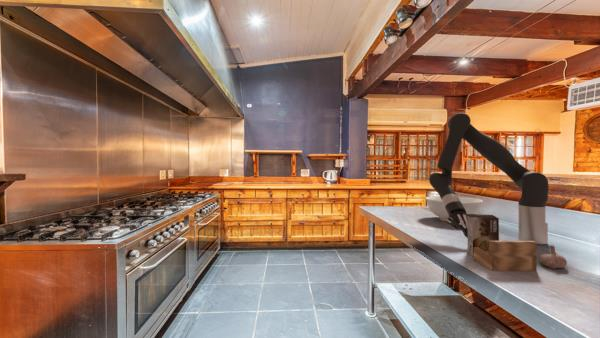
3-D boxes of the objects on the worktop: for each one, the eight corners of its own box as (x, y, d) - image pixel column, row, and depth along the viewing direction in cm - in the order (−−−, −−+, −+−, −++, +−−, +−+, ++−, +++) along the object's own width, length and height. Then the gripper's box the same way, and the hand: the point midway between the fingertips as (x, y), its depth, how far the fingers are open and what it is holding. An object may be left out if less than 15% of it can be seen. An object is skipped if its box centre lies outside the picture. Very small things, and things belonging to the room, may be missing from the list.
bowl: (419, 221, 157) (419, 199, 157) (431, 213, 182) (431, 194, 181) (480, 229, 136) (480, 203, 136) (484, 219, 160) (484, 197, 160)
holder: (513, 260, 92) (513, 234, 92) (536, 270, 82) (536, 242, 82) (473, 260, 92) (473, 234, 92) (492, 270, 83) (492, 241, 83)
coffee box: (492, 253, 99) (492, 214, 99) (499, 258, 93) (499, 217, 93) (466, 250, 102) (466, 213, 102) (472, 256, 96) (472, 216, 96)
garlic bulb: (551, 271, 82) (551, 248, 82) (532, 262, 90) (532, 241, 90) (574, 271, 82) (574, 248, 82) (553, 262, 89) (553, 241, 89)
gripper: (442, 200, 115) (458, 233, 103) (470, 200, 114) (489, 233, 102) (436, 209, 120) (451, 241, 108) (463, 209, 120) (480, 241, 108)
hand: (469, 237), depth 105 cm, fingers closed
